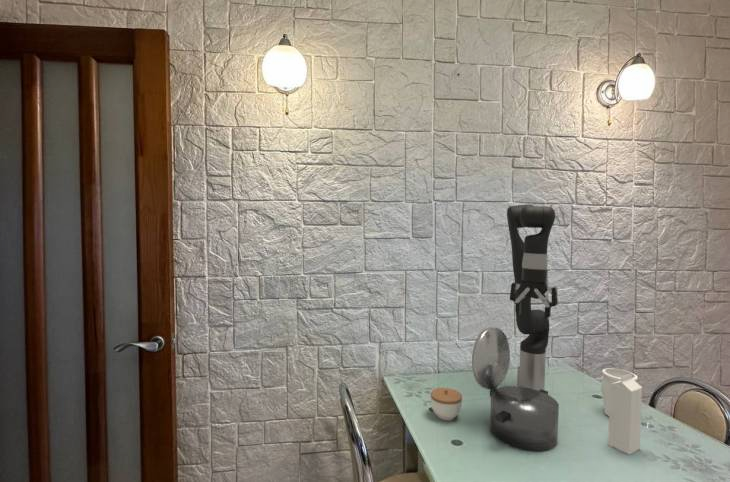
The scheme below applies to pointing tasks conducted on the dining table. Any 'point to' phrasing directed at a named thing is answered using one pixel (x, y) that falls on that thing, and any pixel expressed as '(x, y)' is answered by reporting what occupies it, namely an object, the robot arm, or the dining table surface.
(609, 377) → the jar
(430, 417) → the dining table surface
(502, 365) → the lid
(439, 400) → the lidded jar
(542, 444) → the cooker pot
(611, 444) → the milk
